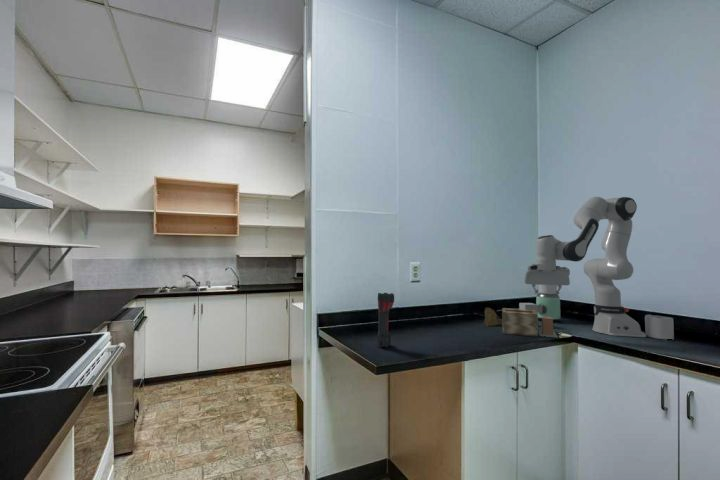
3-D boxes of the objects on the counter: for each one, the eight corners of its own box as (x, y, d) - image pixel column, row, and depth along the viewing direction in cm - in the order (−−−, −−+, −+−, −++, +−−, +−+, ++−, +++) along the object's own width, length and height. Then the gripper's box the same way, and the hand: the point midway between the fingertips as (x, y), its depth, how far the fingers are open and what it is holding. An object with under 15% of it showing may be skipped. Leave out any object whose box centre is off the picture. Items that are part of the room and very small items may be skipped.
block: (551, 333, 170) (551, 317, 170) (553, 334, 165) (552, 318, 166) (541, 332, 171) (541, 316, 172) (542, 334, 167) (542, 318, 167)
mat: (554, 333, 171) (554, 332, 171) (557, 337, 162) (557, 336, 162) (537, 331, 174) (537, 330, 175) (539, 336, 165) (539, 334, 165)
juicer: (550, 323, 195) (549, 264, 197) (529, 319, 207) (528, 264, 209) (569, 321, 204) (568, 264, 206) (548, 317, 216) (547, 264, 218)
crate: (534, 330, 177) (534, 310, 177) (537, 336, 164) (537, 314, 164) (502, 328, 183) (502, 308, 183) (502, 333, 170) (502, 312, 171)
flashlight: (392, 343, 150) (393, 292, 151) (395, 347, 142) (395, 294, 143) (375, 343, 149) (376, 292, 150) (377, 347, 141) (377, 294, 143)
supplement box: (538, 327, 187) (538, 304, 187) (525, 326, 187) (524, 304, 187) (531, 324, 194) (531, 302, 195) (519, 324, 194) (518, 302, 195)
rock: (498, 319, 197) (481, 316, 199) (503, 309, 192) (485, 306, 194) (501, 333, 189) (483, 330, 190) (506, 323, 184) (487, 320, 185)
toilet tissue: (664, 340, 159) (663, 319, 159) (637, 334, 170) (636, 315, 171) (679, 339, 162) (679, 318, 162) (652, 333, 173) (651, 314, 174)
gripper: (568, 266, 169) (569, 293, 168) (523, 266, 177) (524, 292, 176) (570, 267, 163) (571, 295, 162) (524, 266, 171) (525, 293, 170)
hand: (546, 293), depth 169 cm, fingers open, 8 cm apart
